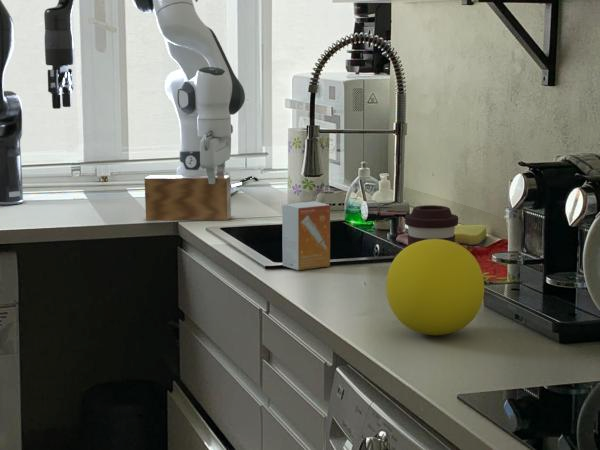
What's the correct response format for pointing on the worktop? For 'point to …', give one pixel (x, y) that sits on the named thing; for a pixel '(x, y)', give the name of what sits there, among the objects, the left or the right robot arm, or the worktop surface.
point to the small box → (306, 235)
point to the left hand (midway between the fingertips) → (62, 107)
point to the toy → (435, 287)
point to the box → (187, 198)
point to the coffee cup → (431, 223)
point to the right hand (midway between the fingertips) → (216, 181)
